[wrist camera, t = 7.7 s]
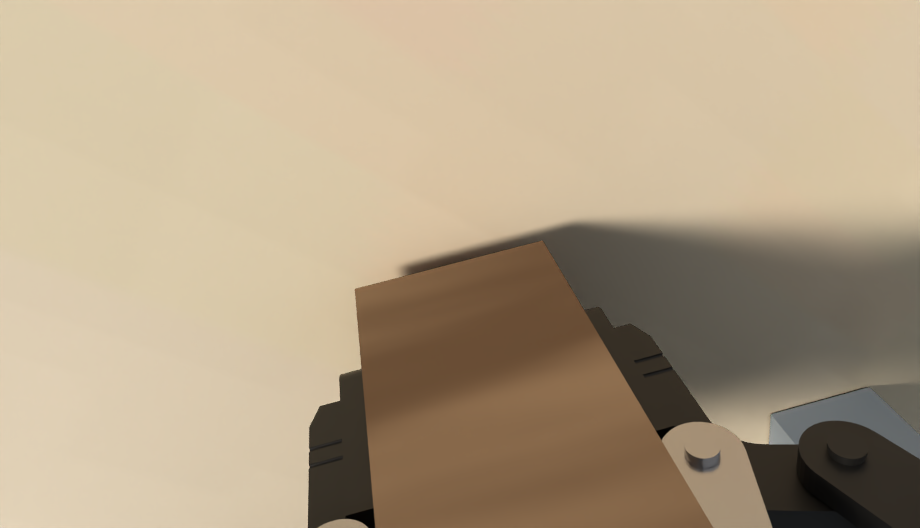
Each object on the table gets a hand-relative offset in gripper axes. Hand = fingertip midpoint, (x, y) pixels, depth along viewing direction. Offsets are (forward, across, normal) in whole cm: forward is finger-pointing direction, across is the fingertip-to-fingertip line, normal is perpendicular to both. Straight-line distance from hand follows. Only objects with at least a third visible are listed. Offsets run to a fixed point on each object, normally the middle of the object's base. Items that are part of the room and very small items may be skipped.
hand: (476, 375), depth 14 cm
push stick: (+1, 0, +7) cm, 7 cm away
